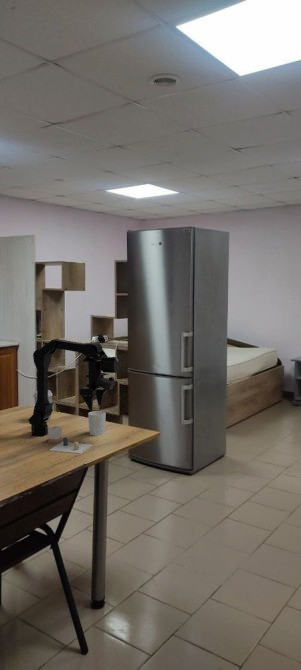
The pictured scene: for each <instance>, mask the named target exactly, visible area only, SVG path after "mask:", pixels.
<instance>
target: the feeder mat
mask: <svg viewBox="0 0 301 670" xmlns="http://www.w3.org/2000/svg"><path fill="white" fill-rule="evenodd" d="M63 438H64V437H62V440H61V441H60V442H58V443H53V442H48V438H47V439H46V440H44V441H43V442H42V444H51V445H52V444H53V445H58V444H59V443H61V442H63Z"/></svg>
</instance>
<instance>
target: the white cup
mask: <svg viewBox="0 0 301 670" xmlns="http://www.w3.org/2000/svg"><path fill="white" fill-rule="evenodd" d="M106 414H107V413H106V411H101V410H95V411H94V410H92V411H90V412H88V414H87V418H88V419H87V420H88V428H89V429H88V430H89V434H90V436H94V437H98V436H104V435H105V434H106V420H107V419H106Z"/></svg>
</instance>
